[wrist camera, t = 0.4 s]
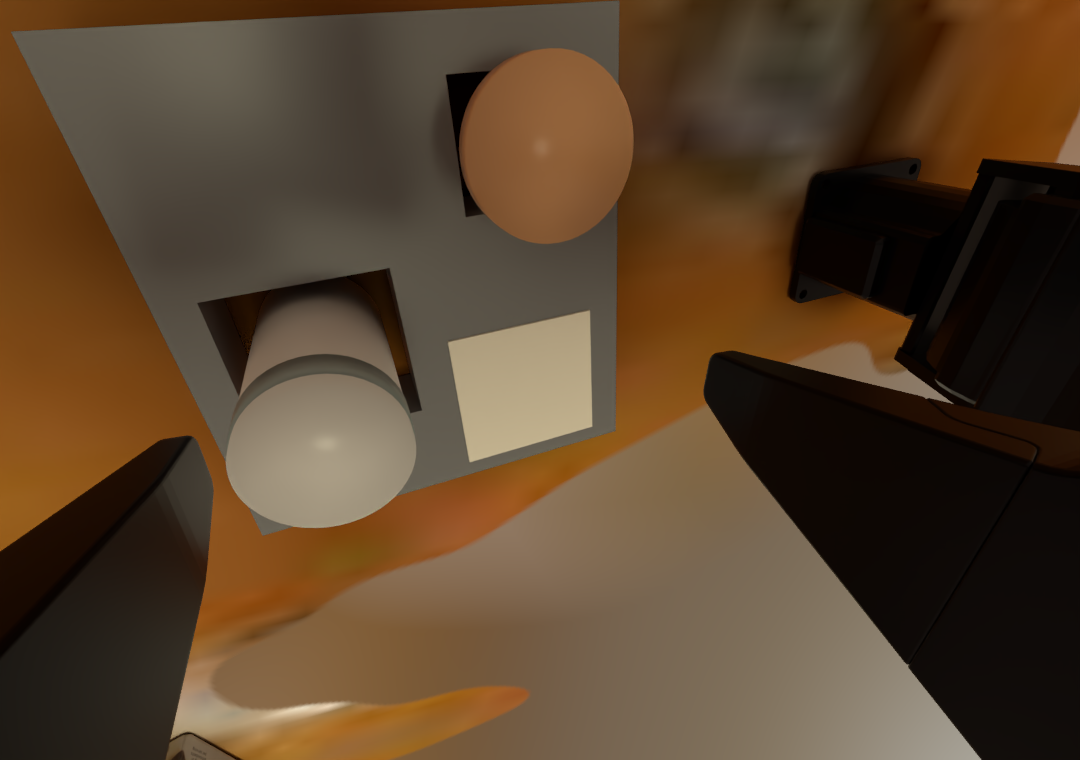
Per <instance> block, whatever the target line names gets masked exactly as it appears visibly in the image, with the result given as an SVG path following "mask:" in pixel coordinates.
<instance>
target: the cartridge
mask: <svg viewBox="0 0 1080 760" xmlns="http://www.w3.org/2000/svg"><path fill="white" fill-rule="evenodd" d="M226 450H227V455H226V469H227V474H228V478H229V481H230V483H231V486H232V487H233V489H234V491H235V492H236V494H237V495H238V497H239V498H240V499H241V500H242V501H243V502H244V503H245V504H246V505H247V506H248V507H250V508H251V509H252V510H253V511H255V512H257V513H258V514H260V515H261V516H264V517H266V518H268V519H270V520H272V521H275V522H278V523H281V524H285V525H290V526H295V527H303V528H322V527H332V526H338V525H342V524H346V523H350V522H353V521H356V520H359V519H361V518H363V517H366V516H368V515H370V514H372V513H374V512H375V511H377V510H379V509H380V508H382V507H383V506H384V505H386V504H387V503H388V502H390V501H391V500H392V499H393V498H394V497H395V496H396V495H397V494H398V493H399V492H400V490H401V489H402V488H403V487H404V485H405V484H406V482H407V481H408V479H409V477H410V475H411V473H412V470H413V467H414V464H415V459H416V441H415V431H414V425H413V422H412V418H411V415H410V411H409V408H408V405H407V402H406V399H405V397H404V395H403V393H402V390H401V386H400V383H399V379H398V376H397V372H396V369H395V365H394V361H393V358H392V354H391V351H390V347H389V344H388V340H387V337H386V333H385V330H384V326H383V323H382V319H381V316H380V313H379V310H378V308H377V306H376V303H375V302H374V300H373V299H372V298H371V296H370V295H369V294H368V293H367V292H366V291H365V290H364V289H363V288H362V287H360V286H359V285H357V284H356V283H354V282H353V281H351V280H349V279H347V278H344V277H337V278H332V279H326V280H321V281H315V282H310V283H304V284H299V285H293V286H288V287H282V288H277V289H272V290H271V291H270V292H269V294H268V295H267V296H266V298H265V299H264V301H263V303H262V305H261V307H260V310H259V313H258V318H257V322H256V326H255V331H254V335H253V339H252V344H251V348H250V352H249V357H248V361H247V366H246V370H245V374H244V379H243V383H242V387H241V392H240V396H239V400H238V402H237V404H236V407H235V410H234V412H233V416H232V421H231V425H230V429H229V433H228V439H227V445H226Z"/></svg>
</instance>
